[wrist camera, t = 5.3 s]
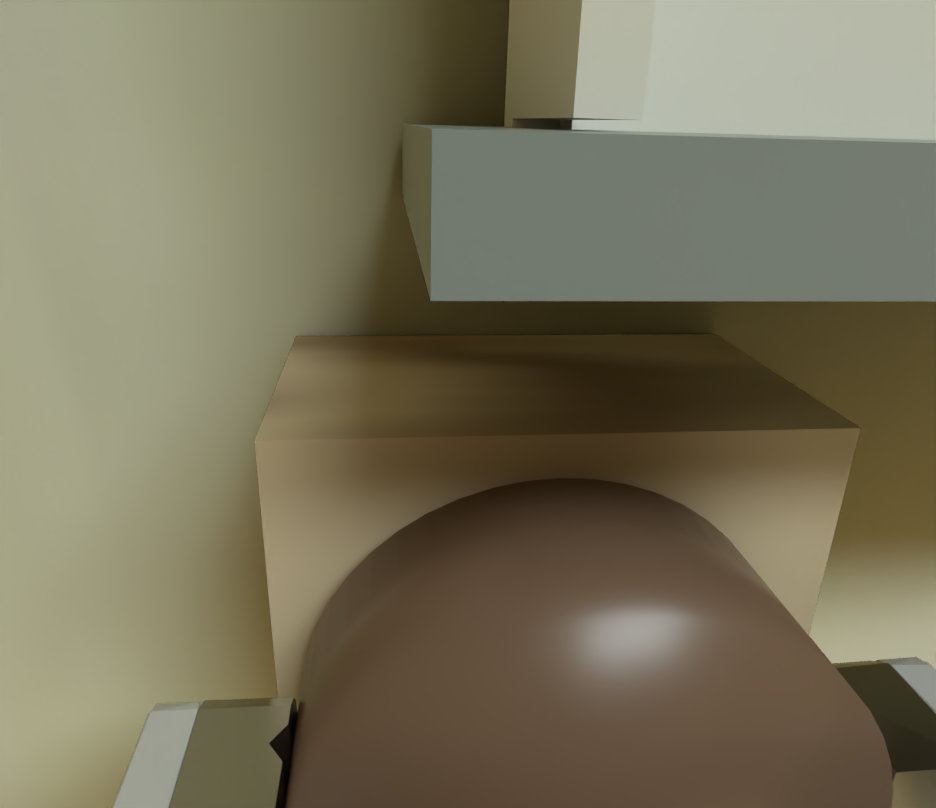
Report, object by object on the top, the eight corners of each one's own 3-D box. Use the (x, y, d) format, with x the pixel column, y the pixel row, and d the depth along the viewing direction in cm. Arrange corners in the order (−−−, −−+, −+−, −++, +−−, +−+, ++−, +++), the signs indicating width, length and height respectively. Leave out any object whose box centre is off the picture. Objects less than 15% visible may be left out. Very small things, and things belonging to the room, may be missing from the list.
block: (318, 680, 14) (294, 883, 10) (296, 336, 11) (254, 440, 8) (662, 660, 15) (756, 842, 11) (714, 334, 12) (861, 427, 8)
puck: (313, 869, 10) (294, 1089, 8) (285, 484, 8) (248, 636, 5) (726, 832, 10) (818, 1024, 8) (812, 471, 8) (970, 600, 6)
